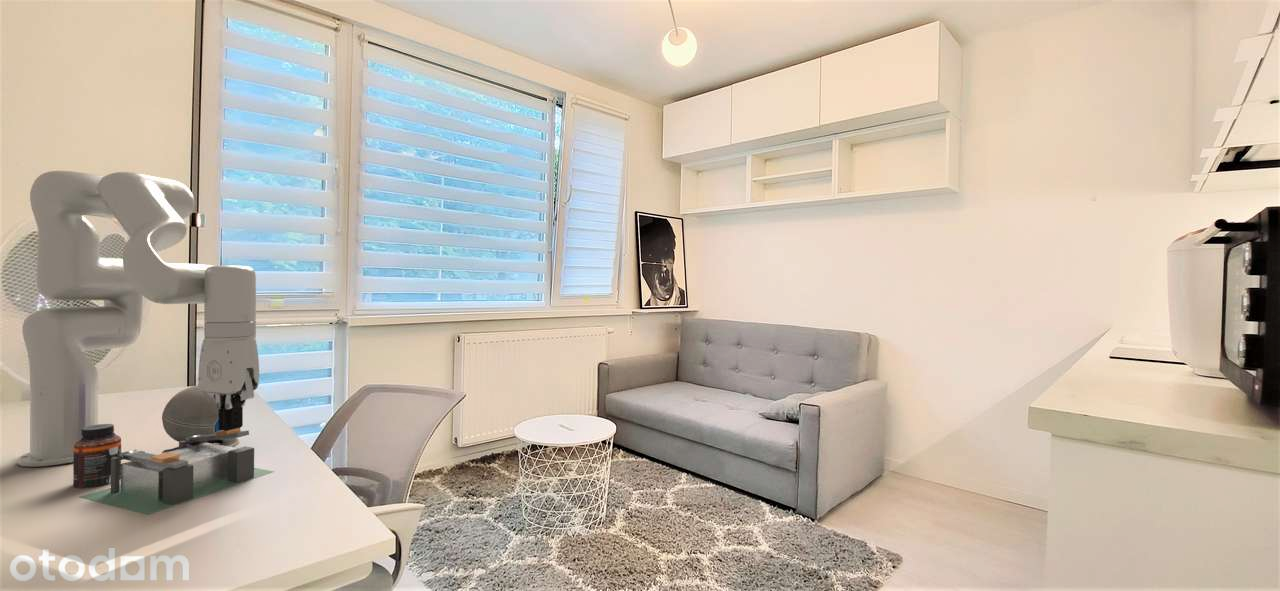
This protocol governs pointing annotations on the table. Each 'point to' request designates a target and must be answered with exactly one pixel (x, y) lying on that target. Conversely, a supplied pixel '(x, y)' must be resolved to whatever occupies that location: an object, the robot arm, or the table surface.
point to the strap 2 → (218, 435)
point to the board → (155, 504)
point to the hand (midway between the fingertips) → (230, 428)
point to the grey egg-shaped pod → (193, 417)
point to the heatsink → (203, 457)
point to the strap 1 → (154, 459)
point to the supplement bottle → (95, 456)
